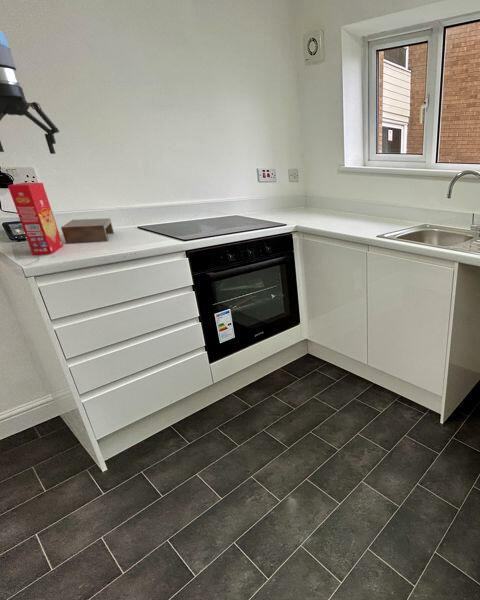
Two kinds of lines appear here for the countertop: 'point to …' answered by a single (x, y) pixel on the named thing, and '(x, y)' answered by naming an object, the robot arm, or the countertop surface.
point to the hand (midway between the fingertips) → (27, 152)
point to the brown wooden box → (87, 230)
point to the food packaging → (36, 217)
